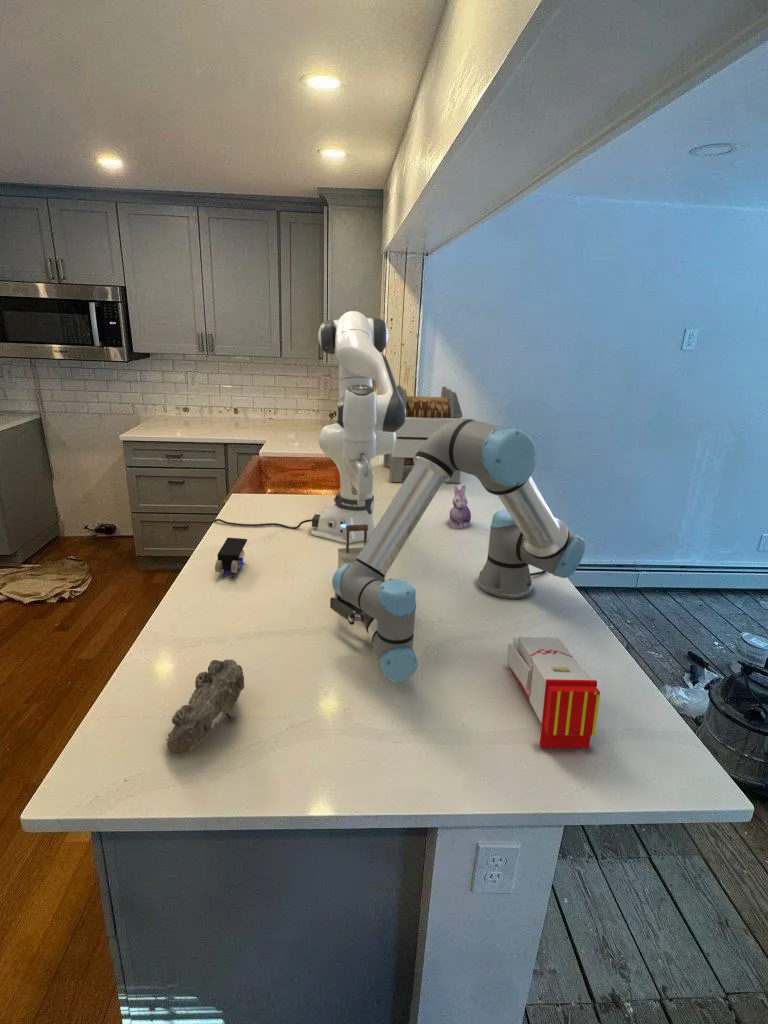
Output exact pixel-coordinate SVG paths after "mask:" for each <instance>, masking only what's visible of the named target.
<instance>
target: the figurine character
mask: <svg viewBox="0 0 768 1024" xmlns="http://www.w3.org/2000/svg"><path fill="white" fill-rule="evenodd" d="M247 542H248V538H240V537H226V539H225V541H224V543H223V544H222V546H221V547H220V549H219V551H218V552H217V560H216V562H215V564H214V572H215V573H221V577H222V578H224V577H225V576H226V574H227V573H230V574H231V573H232V574H231V578H234V577H235V575H236V573H237V572H239V571H240V567H242V566H243V565H244V564H245V562H244V558H245V551H244V547H245V546H246V544H247Z"/></svg>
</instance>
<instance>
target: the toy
mask: <svg viewBox="0 0 768 1024" xmlns="http://www.w3.org/2000/svg"><path fill="white" fill-rule="evenodd" d="M505 659H506V660H505V661H506V663H507V664H508V666H509V667H508V669H510V671H511V673H512V674H513V676H514V678H515V680H516V681H517V683H518V685H519V686H520V688H521V689H522V691H523V693H524V694H525V696H526V698H527V700H529V703H530V705H531V707H532V708H533V711H534V712H535V715H536V716H537V718H538V720H539V722H540V725H541V726H540V736H539V744H538V746H539V748H540V749H590V746H591V736H592V737H595V735H596V731H597V730H596V729H597V722H598V721H597V720H598V714H599V713H598V712H599V703H600V697H601V691H600V690H599V688H598V680H596V679H591V678H590V677H589V675H588V674H587V673H586V672H585V670H584V669H583V668H582V667H581V665H580V664H579V663H578V661H577V660H576V659H575V657H574V656H573V655H572V653H570V650H569V649H568V648H567V647H566V645H564V643H563V642H562V641H561V639H560V638H559V637H548V636H547V637H546V636H545V637H543V636H518V638H517V637H515V638H512V643H511V642H508V646H507V653H506V658H505Z"/></svg>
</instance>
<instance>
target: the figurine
mask: <svg viewBox="0 0 768 1024" xmlns="http://www.w3.org/2000/svg"><path fill="white" fill-rule="evenodd" d="M466 489H467V485H465V484H463V485H462V486H461V488H460V489H459V488H458V486H457V485H454V486H453V491H454V492H453V493H454V496H453V498H452V505H453V506H452V508H450V510H449V515H448V516H449V518H448V524H449V526H450V527H451V528H454V529H462V528H467V527H469V526H470V523H471V519H472V513H471V510H470V508H469V507H468V503H469V502H468V498H467V496H466Z"/></svg>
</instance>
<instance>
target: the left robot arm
mask: <svg viewBox="0 0 768 1024" xmlns="http://www.w3.org/2000/svg"><path fill="white" fill-rule="evenodd" d="M389 337H390V336H389V329H388V327H387V324H386V322H385V320H384V319H381V318H378V317H372V318H371V317H366V315H364V314H363V313H362V312H360V311H357V310H350V311H347V312H345V313H343V314H342V315H340V317H339V318H338V319H334V320H333V319H328V320H324V321H323V322H322V323H321V324H320V327H319V330H318V334H317V339H318V344H319V345H320V348H321V350H322V351H323V353H325V354H328V355H336V359H337V362H338V393H339V394H338V395H339V396H338V397H339V400H337V402H336V407H337V418H336V423H331V424H327V425H324V427H322V429H321V430H320V432H319V435H318V444H319V447H320V450H321V451H322V452H323V454H325V455H326V456H327V457H329V458H330V459H331V460H332V462H333V463H334V464H335V466H336V467H337V470H338V474H339V483H340V484H339V485H340V488H339V489H340V490H339V491H338V492H337V494H336V495H335V496H334V497H333V502H334V504H333V505H331V506H329V507H328V508H326V509H325V510H323V512H321V514H318V513H315V514H314V515H313V517H312V518H311V519H305V520H302V521H301V522H299V523H298V525H296V526H288V525H285V524H282V523H276V522H265V523H239V522H238V523H237V522H230V521H226V520H224V519H220V518H215V519H214V520H212V521H211V523H215V522H221V523H224V524H226V525H231V526H240V527H263V526H279V527H281V528H282V527H283V528H285V529H286V528H287V529H291V530H297V529H299V528H300V527H301V525H303V524H305V523H311V527H312V528H311V530H310V533H311V536H315V537H319V538H323V539H326V540H330V541H336V542H339V543H343V544H346V525H363V524H367V525H368V531H367V541H368V539H369V537H370V536H371V534H372V533H373V531H374V529H375V528H376V527H375V523H374V513H373V512H374V509H375V496H374V473H373V465H372V460H373V459H375V458H376V457H380V456H384V455H385V454H389V453H391V452H392V451H393V449H394V448H395V446H396V441H397V437H396V433H395V431H397V430H398V429H399V428H401V427H402V426H403V425H404V423H405V417H406V410H405V406H404V402H403V400H402V398H401V396H400V394H399V392H398V389H397V386H398V385H397V382H396V381H395V377H394V375H393V372H392V368H391V366H390V363H389V361H388V359H387V357H386V355H385V354H383V353H382V352H383V351H384V350H385V349H386V347H387V344H388V342H389ZM373 381H375V382H376V383H377V384H378V387H379V390H380V392H381V394H377V392H376V389H375V388H374V387H373ZM357 542H364V531H349V544H352V543H357Z"/></svg>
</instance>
